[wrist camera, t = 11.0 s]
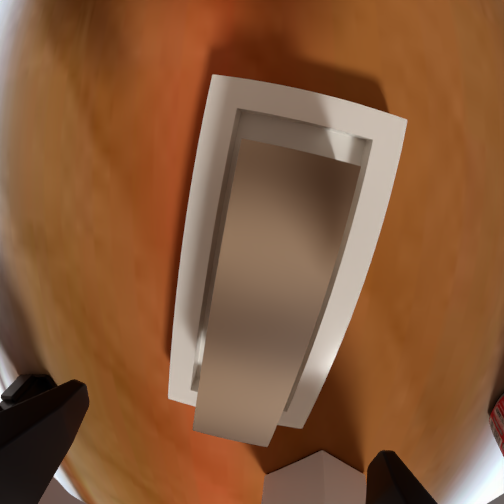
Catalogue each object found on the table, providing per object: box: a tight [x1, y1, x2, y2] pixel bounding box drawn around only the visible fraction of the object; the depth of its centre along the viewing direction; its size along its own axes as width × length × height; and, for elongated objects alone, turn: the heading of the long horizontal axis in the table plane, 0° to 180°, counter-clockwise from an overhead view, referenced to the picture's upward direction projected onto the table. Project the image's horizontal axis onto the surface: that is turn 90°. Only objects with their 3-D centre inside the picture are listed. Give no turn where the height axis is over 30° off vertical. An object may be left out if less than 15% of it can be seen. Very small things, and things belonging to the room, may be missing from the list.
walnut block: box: [193, 139, 361, 447], centre depth 15 cm, size 14×4×6 cm, turn 168°
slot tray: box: [168, 74, 407, 429], centre depth 18 cm, size 20×10×2 cm, turn 168°
